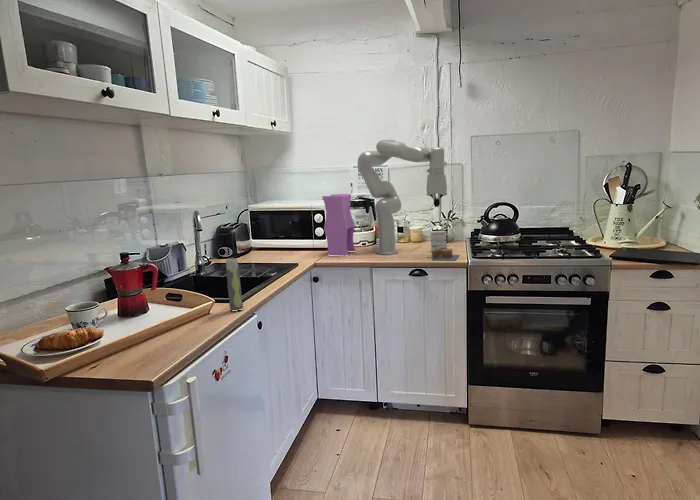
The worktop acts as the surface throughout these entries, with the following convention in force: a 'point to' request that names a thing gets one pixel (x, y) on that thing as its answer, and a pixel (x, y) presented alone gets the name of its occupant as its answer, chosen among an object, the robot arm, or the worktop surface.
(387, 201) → the robot arm
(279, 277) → the worktop surface
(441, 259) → the mat
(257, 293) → the worktop surface
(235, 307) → the grey green tall block
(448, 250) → the walnut block
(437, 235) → the ink box
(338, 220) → the container
